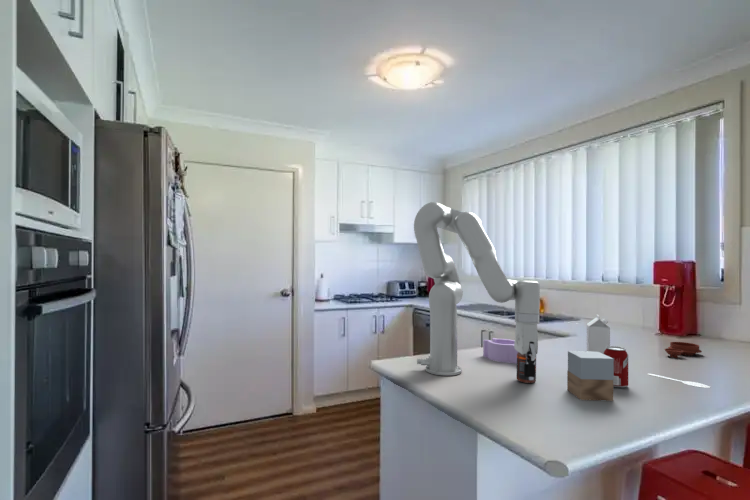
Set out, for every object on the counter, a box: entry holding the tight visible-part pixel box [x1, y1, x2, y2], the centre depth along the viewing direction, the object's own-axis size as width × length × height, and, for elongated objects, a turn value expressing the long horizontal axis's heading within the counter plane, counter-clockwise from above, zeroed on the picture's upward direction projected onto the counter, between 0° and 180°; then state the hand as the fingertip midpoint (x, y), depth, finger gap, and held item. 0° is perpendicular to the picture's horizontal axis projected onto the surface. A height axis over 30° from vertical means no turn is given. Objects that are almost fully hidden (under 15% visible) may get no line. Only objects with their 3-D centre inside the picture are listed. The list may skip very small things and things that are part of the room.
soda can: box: [604, 345, 629, 389], centre depth 130 cm, size 7×7×12 cm
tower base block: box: [566, 370, 614, 402], centre depth 120 cm, size 9×9×6 cm
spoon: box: [647, 373, 711, 389], centre depth 136 cm, size 5×18×1 cm, turn 31°
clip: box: [482, 337, 518, 365], centre depth 163 cm, size 20×12×7 cm, turn 42°
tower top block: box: [567, 350, 614, 380], centre depth 120 cm, size 9×9×6 cm
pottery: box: [664, 341, 703, 359], centre depth 175 cm, size 12×20×4 cm, turn 124°
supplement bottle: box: [516, 352, 537, 384], centre depth 133 cm, size 6×6×11 cm
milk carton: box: [586, 314, 611, 354], centre depth 156 cm, size 7×7×19 cm
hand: (526, 373), depth 133 cm, fingers closed on supplement bottle, 6 cm apart
